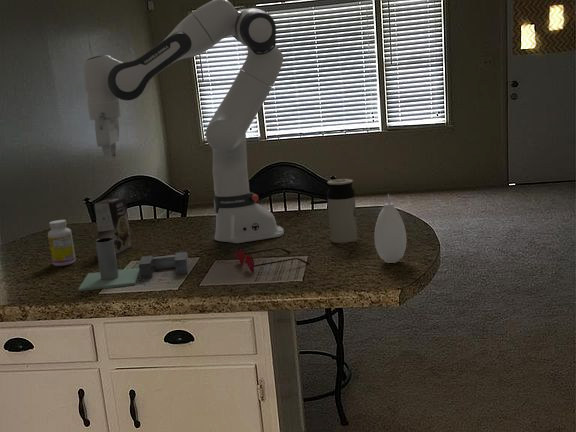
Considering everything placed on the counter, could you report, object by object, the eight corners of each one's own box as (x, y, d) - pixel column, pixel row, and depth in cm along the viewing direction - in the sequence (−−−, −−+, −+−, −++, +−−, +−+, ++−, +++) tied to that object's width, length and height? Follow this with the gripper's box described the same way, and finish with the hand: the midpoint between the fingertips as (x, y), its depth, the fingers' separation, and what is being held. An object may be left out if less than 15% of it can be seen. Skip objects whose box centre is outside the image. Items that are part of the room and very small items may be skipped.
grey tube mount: (188, 263, 171) (186, 249, 170) (187, 273, 162) (186, 259, 161) (144, 268, 170) (142, 254, 169) (140, 279, 160) (138, 264, 159)
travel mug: (326, 243, 181) (322, 183, 177) (335, 237, 188) (331, 179, 185) (352, 244, 178) (349, 182, 174) (360, 237, 185) (357, 178, 182)
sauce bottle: (388, 269, 151) (384, 197, 148) (370, 262, 158) (366, 194, 155) (413, 263, 155) (410, 192, 151) (394, 256, 162) (391, 189, 158)
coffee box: (119, 253, 189) (112, 202, 186) (100, 254, 191) (93, 203, 187) (132, 246, 198) (126, 196, 195) (114, 246, 199) (107, 197, 196)
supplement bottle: (56, 261, 186) (49, 220, 183) (78, 259, 186) (72, 218, 184) (49, 267, 179) (42, 224, 177) (72, 265, 180) (66, 222, 177)
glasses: (235, 264, 169) (233, 246, 168) (291, 254, 174) (289, 237, 173) (251, 276, 156) (249, 257, 155) (310, 265, 162) (309, 247, 161)
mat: (140, 269, 169) (140, 267, 169) (135, 284, 156) (135, 282, 156) (88, 275, 168) (88, 273, 167) (78, 291, 154) (78, 289, 154)
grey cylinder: (122, 275, 163) (116, 237, 161) (111, 280, 159) (106, 242, 157) (107, 274, 165) (102, 237, 162) (97, 280, 160) (91, 241, 158)
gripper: (110, 112, 170) (117, 162, 173) (120, 111, 190) (125, 155, 193) (87, 114, 170) (94, 164, 173) (99, 112, 190) (105, 157, 192)
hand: (111, 159), depth 183 cm, fingers open, 8 cm apart
